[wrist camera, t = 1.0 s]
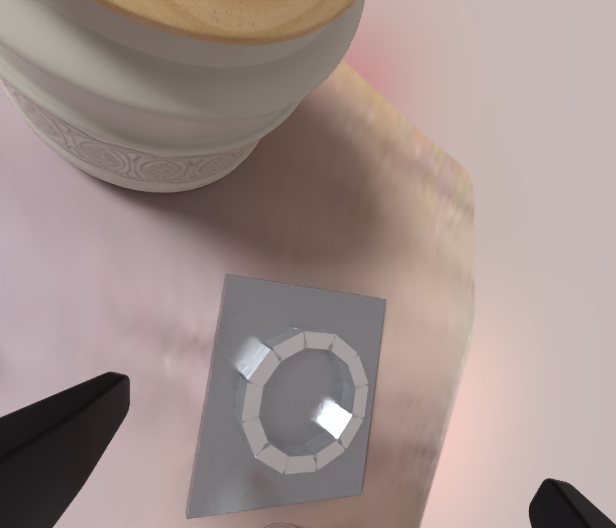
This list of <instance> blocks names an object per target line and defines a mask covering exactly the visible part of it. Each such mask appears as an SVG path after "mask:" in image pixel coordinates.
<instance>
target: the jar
mask: <svg viewBox="0 0 616 528" xmlns="http://www.w3.org/2000/svg"><path fill="white" fill-rule="evenodd" d="M364 2H365V0H0V84H1V86H2V88H3V90H4V92H5V94H6V95H7V97H8V99H9V100H10V102H11V103H12V105H13V106H14V108H15V109H16V110H17V112H18V113H19V114H20V116H21V117H22V118H23V119H24V121H25V122H26V123H27V125H28V126H29V127H30V128H31V129H32V130H33V132H34V133H35V134H36V135H37V136H38V137H39V138H40V139H41V140H42V141H43V142H44V143H45V144H46V145H48V146H49V147H50V148H51V149H52V150H53V151H55V152H56V153H57V154H58V155H60V156H61V157H62V158H64V159H65V160H67V161H68V162H69V163H71V164H72V165H74V166H76V167H77V168H79V169H81V170H83V171H84V172H86V173H88V174H90V175H92V176H94V177H96V178H99V179H101V180H103V181H106V182H109V183H112V184H114V185H117V186H121V187H125V188H129V189H133V190H138V191H146V192H158V193H168V192H180V191H187V190H191V189H195V188H199V187H202V186H205V185H208V184H210V183H213V182H215V181H217V180H219V179H221V178H222V177H224V176H226V175H227V174H229V173H230V172H231V171H233V170H234V169H235V168H236V167H237V166H239V165H240V164H241V163H242V162H243V161H244V160H245V159H246V158H247V157H248V156H249V155H250V153H251V152H252V151H253V150H254V148H255V147H256V146H257V144H258V142H259V141H260V139H261V138H262V137H263V136H265V135H267V134H268V133H270V132H271V131H273V130H274V129H275V128H276V127H278V126H279V125H280V124H281V123H282V122H283V121H285V120H286V119H287V118H288V117H289V116H290V114H291V113H292V112H293V111H294V110H295V109H296V107H297V106H298V104H299V103H300V102H301V100H302V98H303V97H305V96H307V95H308V94H309V93H311V92H312V91H313V90H314V89H316V88H317V87H318V86H319V85H320V84H322V83H323V82H324V81H325V80H326V79H327V78H328V77H329V76H330V74H331V73H332V72H333V71H334V70H335V69H336V67H337V66H338V65H339V63H340V62H341V60H342V59H343V57H344V56H345V54H346V52H347V50H348V49H349V47H350V45H351V42H352V40H353V38H354V36H355V33H356V30H357V28H358V25H359V22H360V19H361V15H362V11H363V7H364Z"/></svg>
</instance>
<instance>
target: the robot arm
mask: <svg viewBox="0 0 616 528" xmlns="http://www.w3.org/2000/svg"><path fill="white" fill-rule="evenodd" d="M129 406H130V380H129V377H128V376H127V375H124V374H120V373H116V372H107V373H104V374H102V375H100V376H97V377H95V378H93V379H90V380H88V381H85V382H83V383H81V384H78V385H76V386H74V387H71V388H69V389H67V390H64V391H62V392H59V393H57V394H55V395H52V396H50V397H48V398H45V399H43V400H41V401H38V402H36V403H33V404H31V405H29V406H26V407H24V408H22V409H19V410H17V411H14V412H12V413H10V414H7V415H5V416H3V417H0V528H53V527H54V525H55V524H56V522H57V521H58V520H59V518H60V517H61V516H62V514H63V513H64V512H65V510H66V509H67V508H68V506H69V505H70V503H71V502H72V501H73V499H74V498H75V497H76V495H77V494H78V492H79V491H80V490H81V488H82V487H83V485H84V484H85V482H86V481H87V479H88V478H89V476H90V474H91V473H92V471H93V470H94V468H95V466H96V465H97V463H98V461H99V460H100V458H101V456H102V455H103V453H104V451H105V450H106V448H107V446H108V445H109V443H110V441H111V440H112V438H113V436H114V435H115V433H116V431H117V430H118V428H119V427H120V425H121V423H122V422H123V420H124V418H125V417H126V415H127V413H128V410H129ZM529 518H530V523H531V526H532V528H616V525H615V524H614V523H613V522H612V521H611V520H610V519H609V518H608V517H607V516H606V515H604V514H603V513H602V512H601V511H600V510H599V509H598V508H597V507H596V506H594V505H593V504H592V503H591V502H590V501H589V500H588V499H587V498H586V497H584V496H583V495H582V494H581V493H580V492H579V491H578V490H577V489H575V488H574V487H573V486H572V485H571V484H569V483H567V482H564V481H560V480H555V479H551V478H548V479H545V480H544V481H543V482H542V484H541V485H540V487H539V489H538V491H537V492H536V494H535V496H534V497H533V499H532V501H531V503H530V506H529Z"/></svg>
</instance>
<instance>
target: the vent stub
mask: <svg viewBox="0 0 616 528" xmlns="http://www.w3.org/2000/svg"><path fill="white" fill-rule="evenodd" d="M265 528H296V527H295V526H293V525H291V524H287V523H276V524H272V525H269V526H267V527H265Z"/></svg>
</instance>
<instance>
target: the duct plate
mask: <svg viewBox="0 0 616 528" xmlns="http://www.w3.org/2000/svg"><path fill="white" fill-rule="evenodd" d="M385 301H386V299H380V298H374V297H368V296H361V295H355V294H349V293H342V292H336V291H330V290H323V289H317V288H311V287H304V286H298V285H292V284H285V283H279V282H273V281H266V280H260V279H254V278H247V277H241V276H235V275H228V274H226V275H225V281H224V287H223V293H222V299H221V305H220V311H219V317H218V323H217V329H216V335H215V341H214V347H213V353H212V359H211V365H210V371H209V377H208V383H207V389H206V395H205V401H204V407H203V413H202V419H201V425H200V431H199V437H198V443H197V449H196V455H195V461H194V467H193V473H192V479H191V485H190V491H189V497H188V502H187V508H186V516H187V519H191V518H198V517H205V516H212V515H219V514H226V513H233V512H240V511H247V510H254V509H261V508H268V507H275V506H282V505H290V504H297V503H304V502H311V501H318V500H325V499H332V498H339V497H346V496H353V495H360V494H361V491H362V483H363V475H364V467H365V459H366V451H367V443H368V435H369V427H370V420H371V412H372V404H373V396H374V388H375V380H376V372H377V364H378V356H379V349H380V341H381V333H382V325H383V317H384V309H385Z"/></svg>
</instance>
